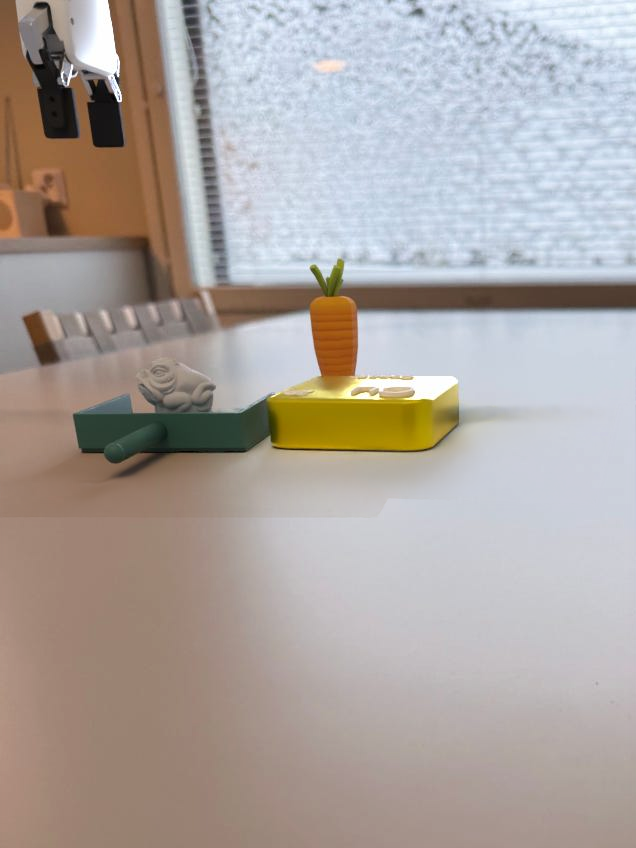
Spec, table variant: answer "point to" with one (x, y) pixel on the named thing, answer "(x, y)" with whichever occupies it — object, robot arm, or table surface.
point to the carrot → (334, 326)
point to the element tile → (364, 413)
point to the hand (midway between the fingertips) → (87, 142)
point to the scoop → (167, 429)
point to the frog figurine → (175, 387)
